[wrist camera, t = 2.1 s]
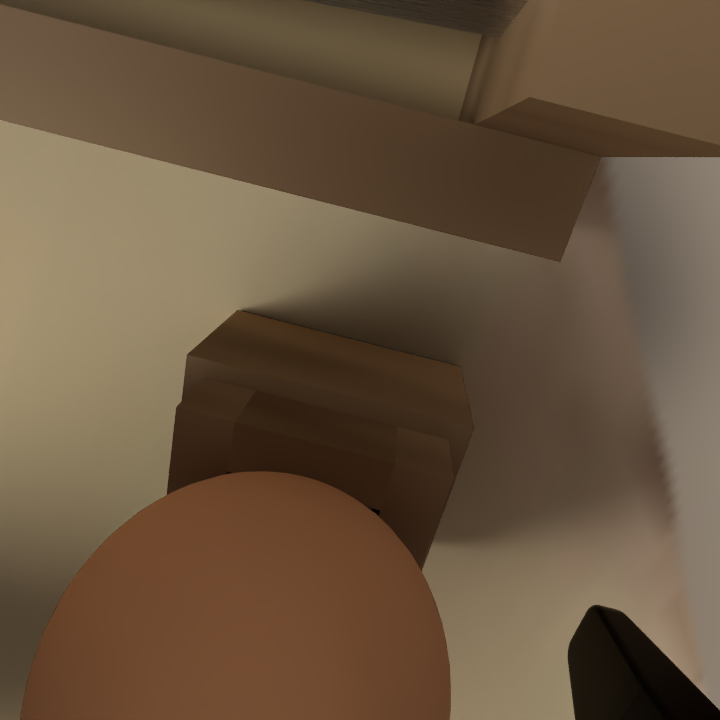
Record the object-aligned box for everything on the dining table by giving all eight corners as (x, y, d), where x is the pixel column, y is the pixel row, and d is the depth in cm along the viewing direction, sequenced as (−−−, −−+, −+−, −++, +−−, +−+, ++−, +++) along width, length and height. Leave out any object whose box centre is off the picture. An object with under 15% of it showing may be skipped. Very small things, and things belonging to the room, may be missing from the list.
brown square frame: (400, 542, 12) (396, 686, 8) (210, 493, 12) (134, 619, 8) (460, 366, 10) (482, 464, 7) (237, 309, 10) (156, 381, 7)
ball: (396, 670, 9) (384, 1124, 5) (143, 605, 9) (-94, 1002, 5) (479, 452, 7) (572, 864, 3) (166, 373, 7) (-176, 672, 3)
